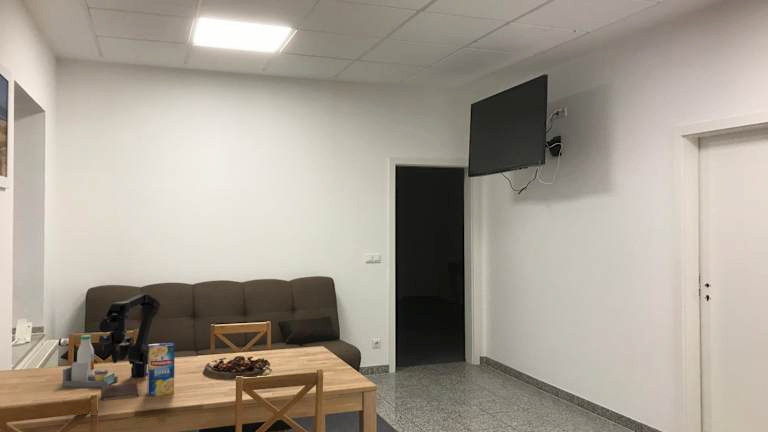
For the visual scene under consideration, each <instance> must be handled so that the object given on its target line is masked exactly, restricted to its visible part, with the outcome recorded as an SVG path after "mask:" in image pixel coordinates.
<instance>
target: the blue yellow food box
mask: <svg viewBox="0 0 768 432" xmlns="http://www.w3.org/2000/svg"><path fill="white" fill-rule="evenodd" d="M175 346H176V345H175V343H174V342H167V343H166V342H162V343H151V344H147V355H148V364H147V373H148V375H147V382H146V383H147V385H146V387H147V390H146V391H147V396H148V397H156V396H165V395H166V396H167V395H173V394H175V359H176V358H175V354H176V353H175V352H176V350H175V348H176V347H175Z"/></svg>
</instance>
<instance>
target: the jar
mask: <svg viewBox="0 0 768 432" xmlns="http://www.w3.org/2000/svg"><path fill="white" fill-rule="evenodd" d="M108 373H109V369H97V370H94V376H95V381H104V376H106V375H108Z"/></svg>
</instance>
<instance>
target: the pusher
mask: <svg viewBox="0 0 768 432" xmlns="http://www.w3.org/2000/svg"><path fill="white" fill-rule="evenodd" d="M114 376H115V372H114V371H113V372H111V373H109V374H108V375H106V376H104V381H108V385H112V383H115V382H114Z"/></svg>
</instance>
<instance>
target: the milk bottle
mask: <svg viewBox="0 0 768 432" xmlns="http://www.w3.org/2000/svg"><path fill="white" fill-rule="evenodd" d="M91 340H92V336H91V334H86V335H85V334H84V335H81V336H80V344H79V348H78V349H77V355H76V363H86V362H88V376H94V375H95V349H94V347H93V345H92V342H91Z"/></svg>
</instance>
